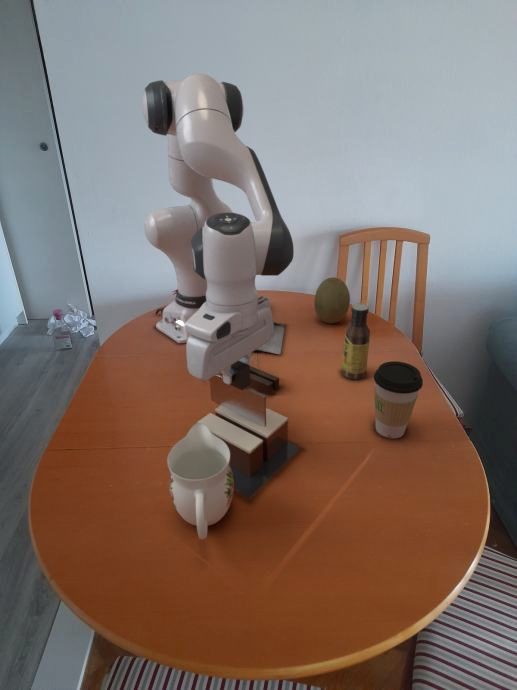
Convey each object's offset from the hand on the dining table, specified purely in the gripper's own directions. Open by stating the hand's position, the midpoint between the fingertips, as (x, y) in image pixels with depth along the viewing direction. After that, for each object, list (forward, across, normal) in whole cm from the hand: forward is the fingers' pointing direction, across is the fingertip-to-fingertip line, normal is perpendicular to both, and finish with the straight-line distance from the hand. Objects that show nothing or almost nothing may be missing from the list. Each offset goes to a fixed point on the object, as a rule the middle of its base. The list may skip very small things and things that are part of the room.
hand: (235, 377), depth 84 cm
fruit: (+18, -65, -16) cm, 69 cm away
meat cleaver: (+18, -49, -30) cm, 60 cm away
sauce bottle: (+19, -41, +5) cm, 45 cm away
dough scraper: (+8, 0, 0) cm, 8 cm away
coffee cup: (+19, -26, +22) cm, 39 cm away
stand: (+18, -22, -15) cm, 32 cm away
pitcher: (+19, +16, +6) cm, 25 cm away
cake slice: (+18, +3, 0) cm, 18 cm away
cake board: (+18, 0, 0) cm, 18 cm away
